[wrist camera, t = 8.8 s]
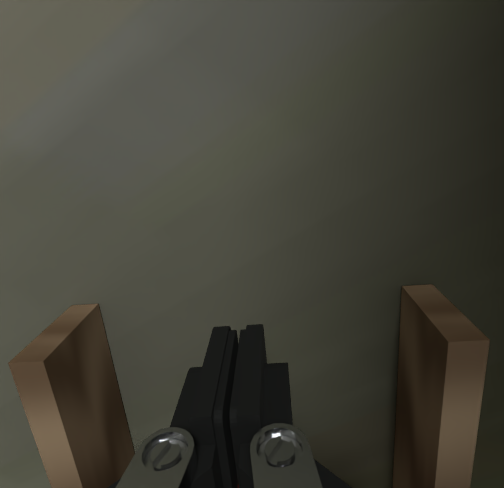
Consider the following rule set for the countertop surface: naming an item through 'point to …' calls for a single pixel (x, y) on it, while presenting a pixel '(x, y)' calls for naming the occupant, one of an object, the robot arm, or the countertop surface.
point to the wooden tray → (116, 427)
